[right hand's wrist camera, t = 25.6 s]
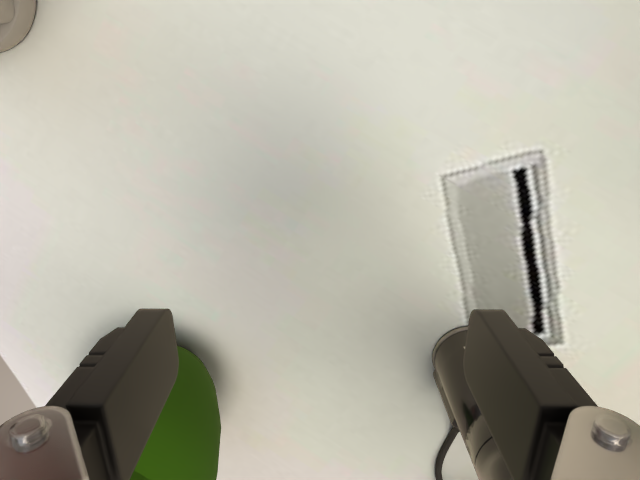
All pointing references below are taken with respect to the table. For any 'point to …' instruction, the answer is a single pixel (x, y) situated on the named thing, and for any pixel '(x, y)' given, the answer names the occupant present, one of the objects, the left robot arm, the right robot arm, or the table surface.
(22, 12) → the bust sculpture
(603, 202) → the table surface
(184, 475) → the vase
